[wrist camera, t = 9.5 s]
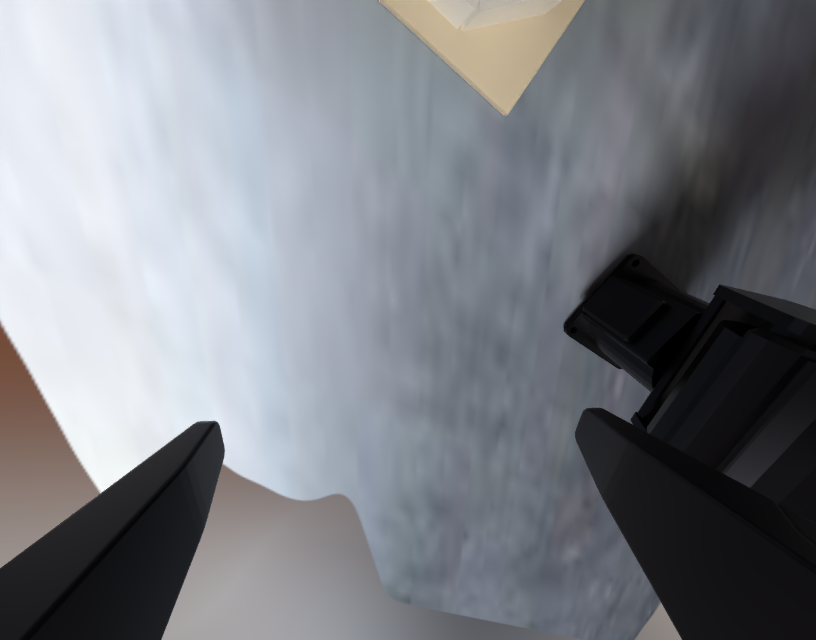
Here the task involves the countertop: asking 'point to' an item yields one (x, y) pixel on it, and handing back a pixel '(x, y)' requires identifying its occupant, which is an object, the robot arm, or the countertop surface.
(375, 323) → the countertop surface
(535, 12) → the socket
